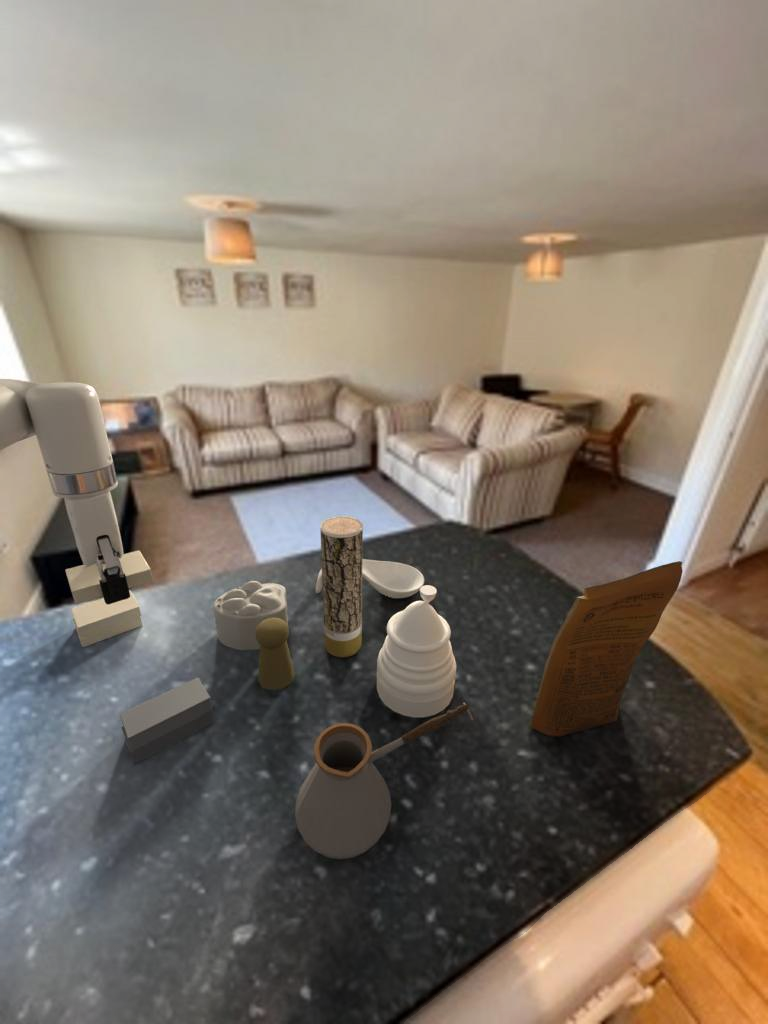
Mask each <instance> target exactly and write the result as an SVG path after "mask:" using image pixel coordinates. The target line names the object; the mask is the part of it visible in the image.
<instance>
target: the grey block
mask: <svg viewBox="0 0 768 1024" xmlns="http://www.w3.org/2000/svg"><path fill="white" fill-rule="evenodd" d="M119 718H120V722H121V724H122V726H121V730H122V733H123V737H124V740H125V743H126V746H127V748H128V751H129V754H130V757H131V760H132V763H133V765H137V764H138V763H140V762H143V760H146V759H148V758H149V757H152V756H153V755H156V754H157V753H159V752H161V751H163V750H164V749H167V748H168V747H170V746H172V745H174V744H176V743H178V742H180V741H181V740H183V739H185V738H187V737H189V736H192V734H195V733H196V732H199V731H201V730H202V729H204V728H207V727H208V726H210V725H211V724H214V723H215V716H214V711H213V705H212V700H211V696H210V695H209V693H208V692H207V689H206V688H205V686H204V685H203V683H202V681H201V679H200V678H199V677H195V678H193V679H191V680H189V681H187V682H185V683H182V684H180V685H178V686H176V687H174V688H171V689H169V690H167V691H165V692H162V693H160V694H159V695H156V696H154V697H152V698H150V699H147V700H145V701H143V702H141V703H139V704H137V705H134V706H133V707H130V708H129V709H126V710H124V711H122V712H119Z"/></svg>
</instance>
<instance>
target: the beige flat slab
mask: <svg viewBox="0 0 768 1024" xmlns="http://www.w3.org/2000/svg"><path fill="white" fill-rule="evenodd" d="M119 560H120V563H121V567H122V570H123V573H125V576H126V580H127V584H128V588H129V589H132V588H136V587H138V586H142V585H145V584H146V585H147V584H149V583H152V582H154V579H153V575H152V569H151V567H150V565H149V564H148V562H147V561H146V559H145V557H144V556H143V554H142V552H141V551H140V550H135V551H130V552H127V553H124V554H123V556H122V557H121V558H119ZM102 568H103V571H104V569H106V566H105V563H103V564H102ZM64 571H65V574H66V578H67V581H68V585H69V588H70V592H71V594H72V598H73V601H74V605H79V604H83V603H85V602H90V601H92V600H95V599H100V598H104V597H103V593H102V590H101V586H100V582H99V580H101V577H100V574H99V571H98V568H97V564H96V563H95V564H92V565H90V566H86V565H84V564H82V565H77V566H73V567H70V568H66V569H65V570H64Z"/></svg>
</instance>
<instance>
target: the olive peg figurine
mask: <svg viewBox="0 0 768 1024" xmlns="http://www.w3.org/2000/svg"><path fill="white" fill-rule="evenodd" d="M255 633H256V640H257V642H258V643H259V645H260V649H259V657H258V672H257V673H258V675H257V681H258V683H259V685H260V687H262V688H263V689H266V690H269V691H278V690H283V689H285V688H286V687H288V686H289V685H290V684H291V683H292V682H293V681H294V679H295V674H296V673H295V669H294V666H293V661H292V656H291V653H290V649H289V645H288V641H287V640H288V639H289V636H288V635H290V629H289V624H288V625H287V624H286V622H285V621H284V620H282V619H280V618H268V619H265V620H263V621H262V622H261V623H260V624H259V625H258V626H257V629H256V632H255Z"/></svg>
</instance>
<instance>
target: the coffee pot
mask: <svg viewBox="0 0 768 1024" xmlns="http://www.w3.org/2000/svg"><path fill="white" fill-rule="evenodd" d="M466 712H467V714H468V716H469V717H470V719H471V721H474V717H473V715H472V713H471V711H470V708H469V706H468V704H467V703H465V702H463V703H462V705H459V706H457V707H456V709H453V710H451V709H447V711H446V713H445V714H442V715H438V716H437V717H433V718H430V719H428V720H427V721H425V722H423V723H422V724H420V725H418V726H416V727H415V728H414V729H412V730H410V731H409V732H407V733H405V734H403V735H401V737H399V738H397V739H395V740H393V741H391V742H389V743H387V744H385V745H383V746H381V747H379V748H377V749H375V750H373V745H372V741H371V739H370V736H369V735H368V733H367V732H366V731H365V730H364V729H363V728H361V727H360V726H358V725H357V724H354V723H349V722H340V723H336V724H331V725H330V726H328V727H327V728H325V729H323V731H321V733H319V735H318V737H317V738H316V739H315V742H314V746H313V757H314V760H315V764H314V766H313V767H312V769H311V770H310V772H309V773H308V775H307V777H306V778H305V780H304V782H303V783H302V785H301V786H300V788H299V791H298V793H297V797H296V800H295V811H294V812H295V813H294V818H295V822H296V826H297V830H298V832H299V834H300V835H301V837H302V839H303V840H304V842H305V843H306V844H307V846H309V847H310V848H311V849H312V850H313V851H314V852H316V853H318V854H320V855H322V856H323V857H325V858H328V859H335V860H347V859H352V858H356V857H357V856H358V857H359V856H360V855H361V854H364V853H366V852H367V851H368V850H369V849H371V848H372V847H373V846H374V845H376V844H377V843H378V842H379V840H380V839H381V838H382V836H383V834H384V833H385V832H386V830H387V826H388V824H389V821H390V819H391V813H392V812H391V811H392V800H391V799H392V798H391V793H390V790H389V787H388V785H387V783H386V780H385V779H384V778H383V776H382V774H381V772H380V771H379V770H378V769H377V767H376V766H375V765H374V763H373V762H374V761H376V760H378V759H380V758H382V757H383V756H385V755H387V754H388V753H391V752H392V751H394V750H396V749H398V748H399V747H402V746H403V745H406V744H408V743H410V742H413V741H415V740H417V739H419V738H421V737H424V736H426V735H428V734H430V733H432V732H434V731H437V730H438V729H439V728H440V727H442V726H443V725H444V724H446V723H447V722H449V721H452V722H453V721H454V720H455V718H456V717H458V716H459V715H463V714H464V713H466Z"/></svg>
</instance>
